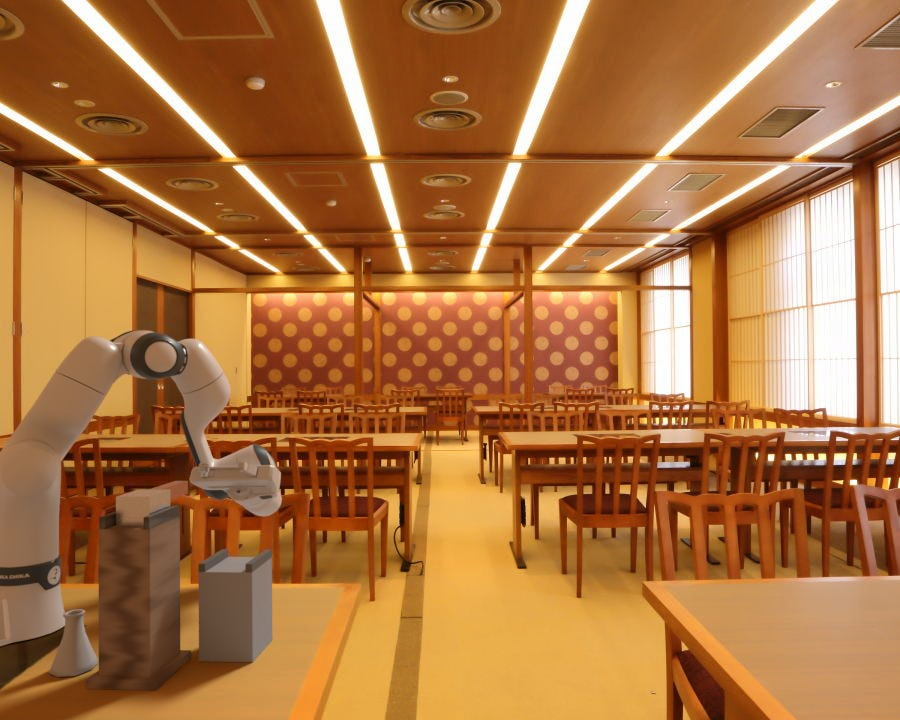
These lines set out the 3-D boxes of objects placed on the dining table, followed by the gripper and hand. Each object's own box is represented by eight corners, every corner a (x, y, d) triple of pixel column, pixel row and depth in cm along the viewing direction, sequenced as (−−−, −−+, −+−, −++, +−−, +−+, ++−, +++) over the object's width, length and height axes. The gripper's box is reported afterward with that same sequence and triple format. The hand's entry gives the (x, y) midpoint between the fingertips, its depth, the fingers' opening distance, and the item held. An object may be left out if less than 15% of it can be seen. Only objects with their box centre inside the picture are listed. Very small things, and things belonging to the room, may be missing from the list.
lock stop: (115, 525, 111) (115, 496, 111) (167, 506, 128) (167, 480, 128) (149, 526, 111) (149, 496, 111) (196, 506, 128) (196, 480, 128)
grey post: (199, 661, 117) (198, 563, 117) (222, 638, 127) (222, 549, 127) (252, 662, 116) (251, 564, 117) (272, 639, 126) (271, 549, 127)
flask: (76, 680, 110) (76, 621, 111) (40, 676, 112) (40, 618, 112) (106, 661, 117) (106, 606, 118) (72, 658, 119) (72, 604, 119)
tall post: (86, 688, 107) (86, 518, 108) (128, 657, 119) (127, 504, 120) (155, 690, 106) (155, 518, 107) (191, 658, 118) (190, 504, 119)
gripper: (207, 473, 160) (180, 454, 148) (287, 471, 158) (266, 451, 146) (202, 498, 157) (174, 480, 145) (283, 496, 155) (262, 478, 143)
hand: (221, 465), depth 145 cm, fingers open, 8 cm apart
